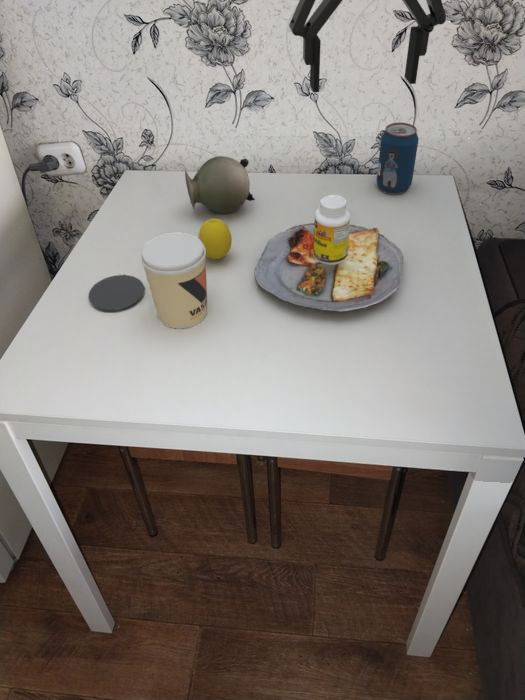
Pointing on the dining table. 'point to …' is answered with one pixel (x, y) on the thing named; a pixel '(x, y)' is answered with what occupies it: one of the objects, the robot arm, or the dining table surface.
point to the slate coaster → (116, 293)
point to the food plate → (330, 270)
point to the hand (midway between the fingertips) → (362, 84)
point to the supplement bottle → (331, 230)
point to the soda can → (397, 158)
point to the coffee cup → (177, 278)
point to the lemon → (215, 238)
